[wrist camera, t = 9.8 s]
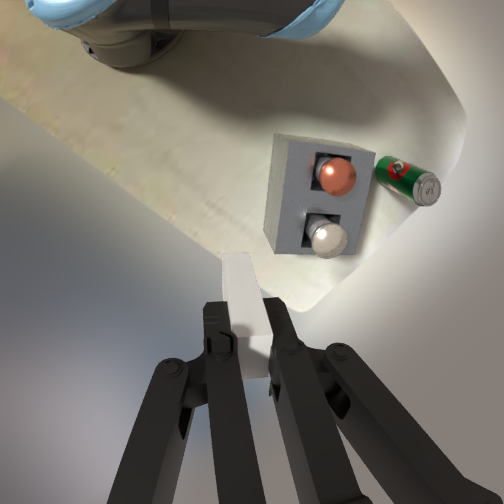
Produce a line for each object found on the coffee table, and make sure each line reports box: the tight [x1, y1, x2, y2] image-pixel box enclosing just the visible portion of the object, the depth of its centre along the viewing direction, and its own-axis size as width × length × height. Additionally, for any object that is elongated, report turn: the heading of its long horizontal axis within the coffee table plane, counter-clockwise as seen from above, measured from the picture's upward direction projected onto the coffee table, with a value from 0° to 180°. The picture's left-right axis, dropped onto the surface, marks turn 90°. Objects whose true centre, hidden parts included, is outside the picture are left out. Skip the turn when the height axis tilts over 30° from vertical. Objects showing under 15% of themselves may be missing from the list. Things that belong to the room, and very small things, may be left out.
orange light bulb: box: [312, 152, 356, 196], centre depth 38 cm, size 5×5×8 cm
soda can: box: [375, 156, 441, 206], centre depth 41 cm, size 5×5×12 cm
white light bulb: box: [304, 213, 347, 259], centre depth 41 cm, size 5×5×8 cm
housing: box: [263, 134, 376, 255], centre depth 42 cm, size 15×12×8 cm
